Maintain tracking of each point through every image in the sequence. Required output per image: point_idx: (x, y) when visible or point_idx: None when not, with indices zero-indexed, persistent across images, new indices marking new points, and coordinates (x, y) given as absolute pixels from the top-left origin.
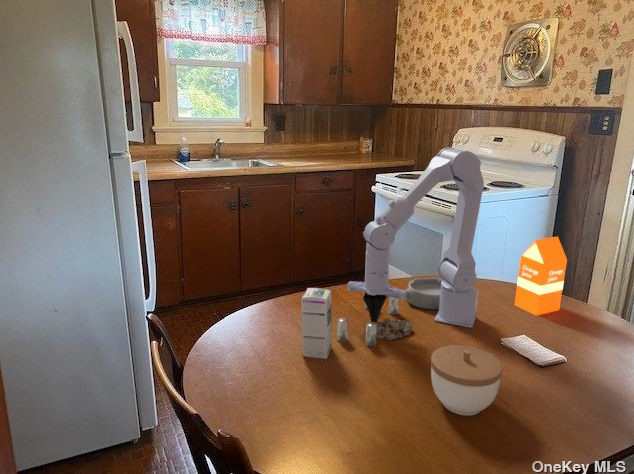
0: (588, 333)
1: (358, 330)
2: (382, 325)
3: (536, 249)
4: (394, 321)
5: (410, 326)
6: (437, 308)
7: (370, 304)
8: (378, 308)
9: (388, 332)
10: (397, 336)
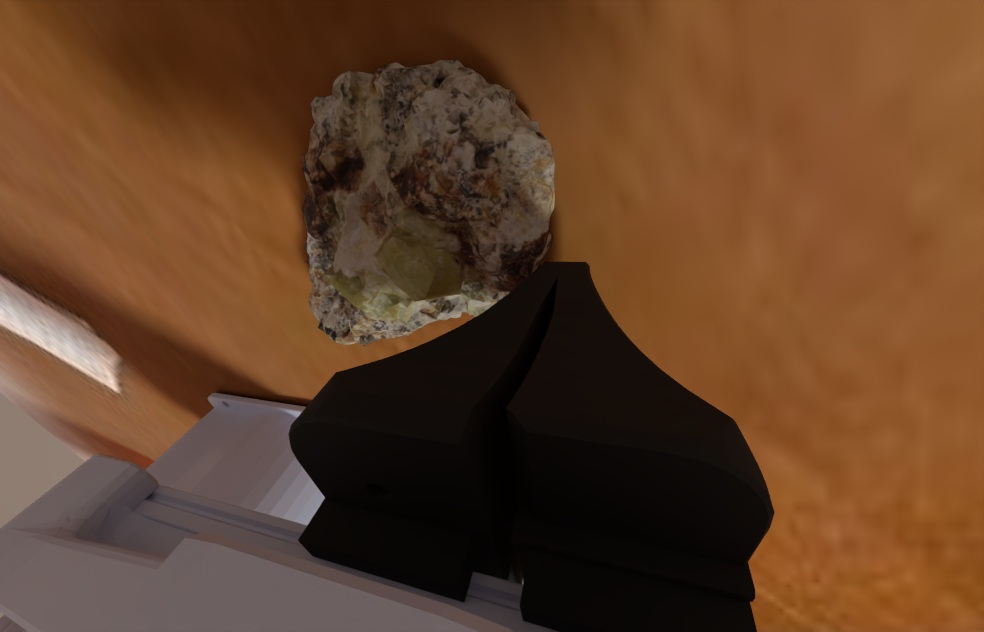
0: (77, 427)
1: (693, 115)
2: (411, 165)
3: None
4: (364, 278)
5: (310, 295)
6: None
7: (565, 362)
8: (455, 334)
9: (368, 136)
10: (310, 138)
